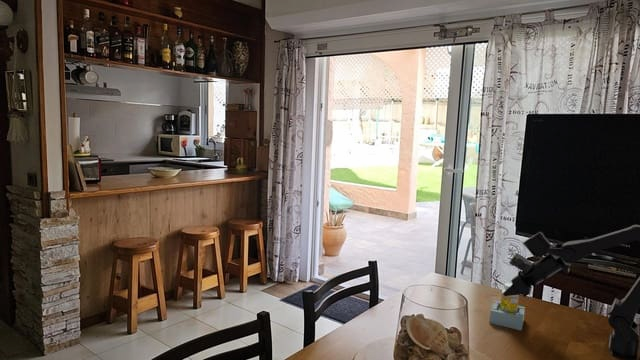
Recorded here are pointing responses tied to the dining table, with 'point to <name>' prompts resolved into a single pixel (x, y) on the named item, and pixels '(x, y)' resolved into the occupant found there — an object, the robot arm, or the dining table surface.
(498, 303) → the teal tray
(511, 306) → the supplement bottle
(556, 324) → the dining table surface
